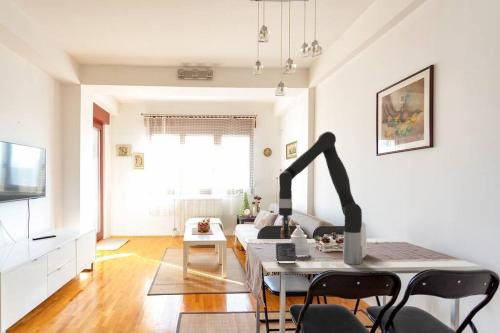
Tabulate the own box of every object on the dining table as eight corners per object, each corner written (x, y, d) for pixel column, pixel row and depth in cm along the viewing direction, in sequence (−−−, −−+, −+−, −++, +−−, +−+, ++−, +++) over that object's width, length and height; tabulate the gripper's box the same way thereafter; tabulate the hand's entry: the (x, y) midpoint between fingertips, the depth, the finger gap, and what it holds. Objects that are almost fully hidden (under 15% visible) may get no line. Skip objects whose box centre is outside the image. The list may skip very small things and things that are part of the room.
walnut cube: (289, 236, 204) (289, 228, 204) (290, 238, 199) (290, 229, 199) (280, 236, 204) (280, 228, 205) (281, 238, 199) (281, 229, 200)
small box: (294, 260, 205) (294, 242, 205) (296, 263, 199) (295, 244, 199) (275, 260, 205) (275, 242, 205) (277, 263, 198) (276, 244, 198)
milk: (348, 252, 225) (347, 211, 226) (367, 254, 219) (366, 211, 220) (342, 256, 215) (342, 212, 215) (362, 258, 209) (361, 213, 209)
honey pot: (308, 257, 212) (308, 227, 212) (287, 256, 214) (286, 226, 215) (309, 252, 224) (309, 224, 225) (289, 252, 227) (289, 223, 227)
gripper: (293, 208, 195) (293, 239, 195) (291, 205, 209) (291, 234, 209) (279, 208, 195) (279, 239, 195) (278, 205, 210) (278, 234, 209)
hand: (285, 236), depth 202 cm, fingers closed on walnut cube, 5 cm apart
